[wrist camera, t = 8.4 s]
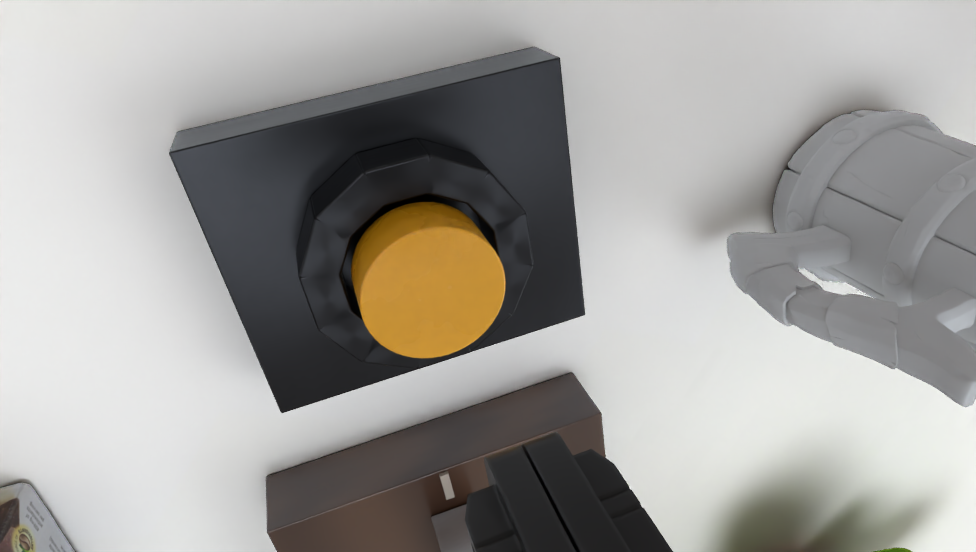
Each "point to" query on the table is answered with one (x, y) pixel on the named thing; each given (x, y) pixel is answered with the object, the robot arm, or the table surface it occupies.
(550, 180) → the button housing
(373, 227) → the button
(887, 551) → the potted flower
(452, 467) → the dial panel
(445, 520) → the dial knob
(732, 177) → the table surface
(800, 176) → the mug
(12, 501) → the coffee box
